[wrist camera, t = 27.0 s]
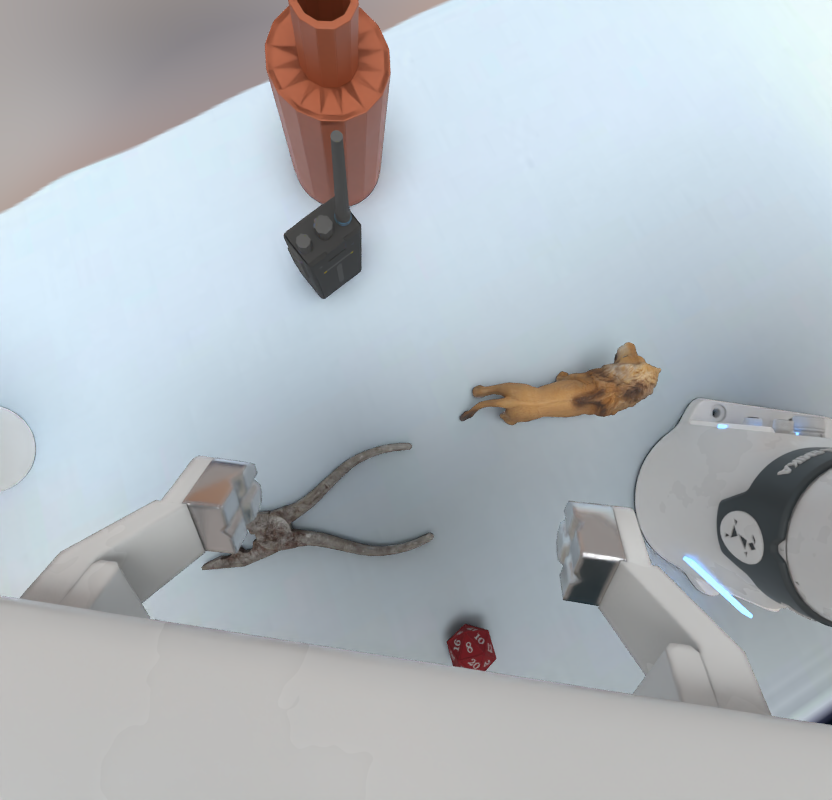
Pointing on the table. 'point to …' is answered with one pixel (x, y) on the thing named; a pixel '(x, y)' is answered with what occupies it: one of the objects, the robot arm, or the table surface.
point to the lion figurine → (575, 391)
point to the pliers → (280, 535)
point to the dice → (471, 648)
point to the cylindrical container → (14, 449)
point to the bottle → (330, 91)
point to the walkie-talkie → (328, 234)
